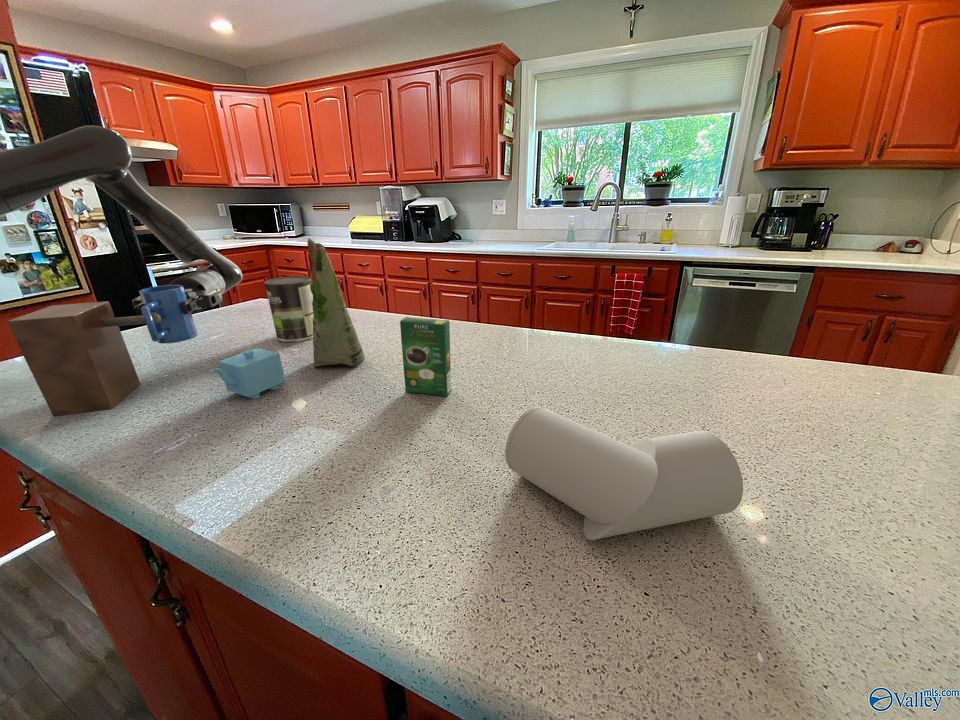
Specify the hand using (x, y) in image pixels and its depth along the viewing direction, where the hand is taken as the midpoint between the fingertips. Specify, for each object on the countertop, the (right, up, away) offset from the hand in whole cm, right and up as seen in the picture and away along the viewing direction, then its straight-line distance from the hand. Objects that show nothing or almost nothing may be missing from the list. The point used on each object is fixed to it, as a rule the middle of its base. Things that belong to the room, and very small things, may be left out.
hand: (162, 310), depth 71 cm
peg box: (-6, -15, -1) cm, 16 cm away
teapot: (+17, -15, -1) cm, 22 cm away
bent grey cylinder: (+71, -24, -27) cm, 80 cm away
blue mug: (0, -6, +2) cm, 6 cm away
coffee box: (+48, -15, -2) cm, 51 cm away
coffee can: (+11, -3, +29) cm, 31 cm away
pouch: (+27, -10, +12) cm, 31 cm away
